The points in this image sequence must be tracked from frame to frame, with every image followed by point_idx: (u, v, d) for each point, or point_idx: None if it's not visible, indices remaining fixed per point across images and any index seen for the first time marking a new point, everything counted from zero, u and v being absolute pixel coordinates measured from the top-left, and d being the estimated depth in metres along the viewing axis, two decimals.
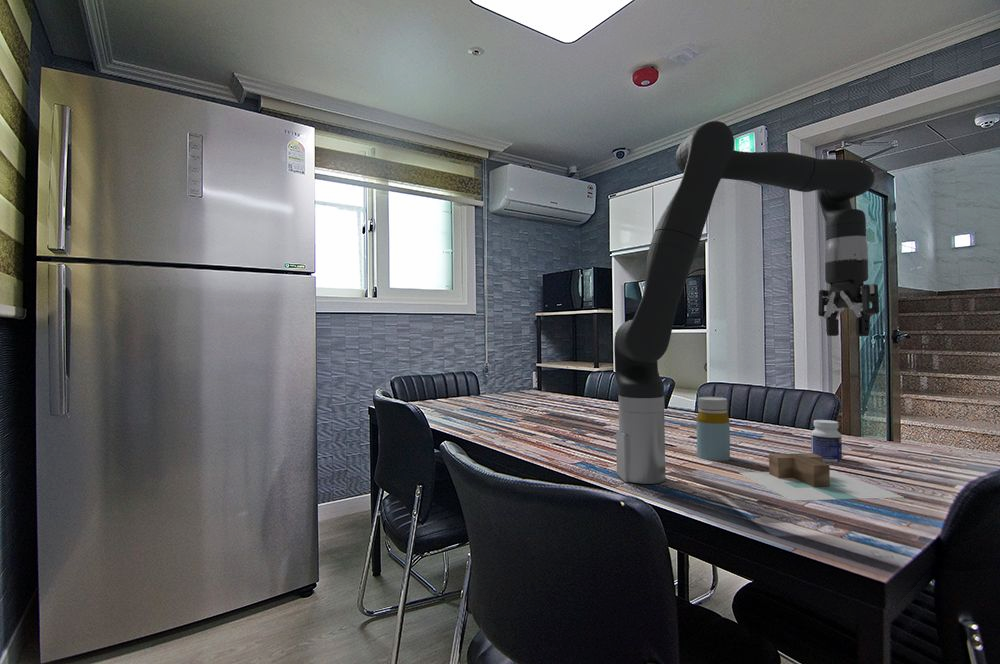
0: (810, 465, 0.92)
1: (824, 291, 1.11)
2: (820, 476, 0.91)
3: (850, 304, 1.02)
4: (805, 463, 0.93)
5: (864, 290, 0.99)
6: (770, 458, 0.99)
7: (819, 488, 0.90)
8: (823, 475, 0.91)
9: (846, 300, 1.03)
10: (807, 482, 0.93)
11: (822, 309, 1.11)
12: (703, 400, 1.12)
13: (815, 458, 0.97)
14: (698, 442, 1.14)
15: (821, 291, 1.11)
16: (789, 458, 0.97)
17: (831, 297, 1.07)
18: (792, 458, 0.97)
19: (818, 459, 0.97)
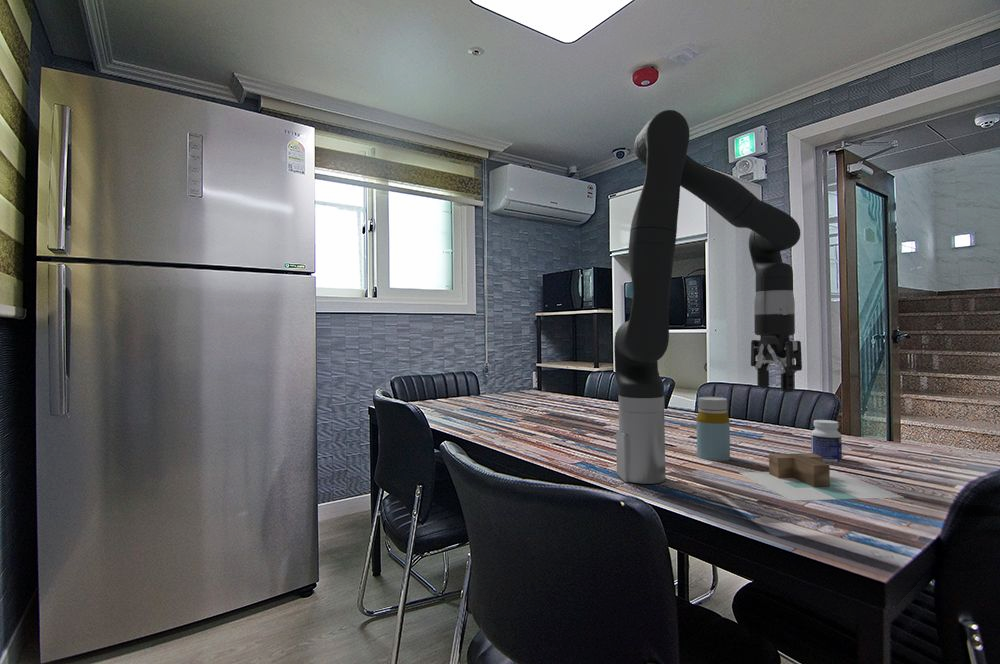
0: (810, 465, 0.92)
1: (756, 341, 1.11)
2: (820, 476, 0.91)
3: (775, 359, 1.02)
4: (805, 463, 0.93)
5: (788, 347, 0.98)
6: (770, 458, 0.99)
7: (819, 488, 0.90)
8: (823, 475, 0.91)
9: (772, 354, 1.03)
10: (807, 482, 0.93)
11: (754, 359, 1.11)
12: (703, 400, 1.12)
13: (815, 458, 0.97)
14: (698, 442, 1.14)
15: (753, 341, 1.11)
16: (789, 458, 0.97)
17: (760, 349, 1.07)
18: (792, 458, 0.97)
19: (818, 459, 0.97)
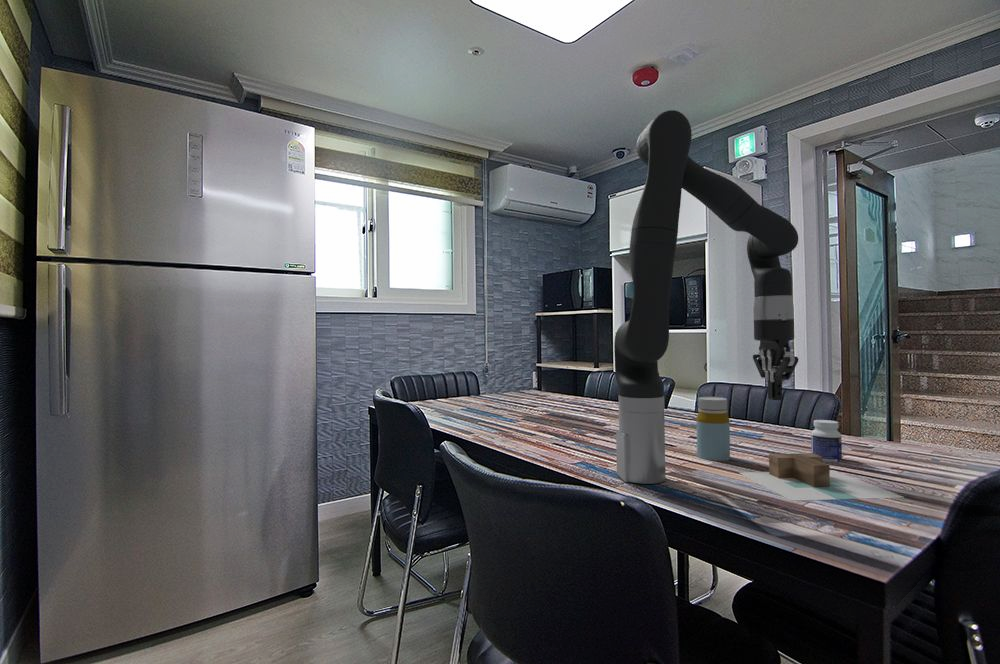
0: (810, 465, 0.92)
1: (756, 354, 1.10)
2: (820, 476, 0.91)
3: (769, 367, 1.04)
4: (805, 463, 0.93)
5: (784, 363, 1.00)
6: (770, 458, 0.99)
7: (819, 488, 0.90)
8: (823, 475, 0.91)
9: (769, 360, 1.04)
10: (807, 482, 0.93)
11: (762, 370, 1.08)
12: (703, 400, 1.12)
13: (815, 458, 0.97)
14: (698, 442, 1.14)
15: (754, 355, 1.10)
16: (789, 458, 0.97)
17: (761, 356, 1.06)
18: (792, 458, 0.97)
19: (818, 459, 0.97)
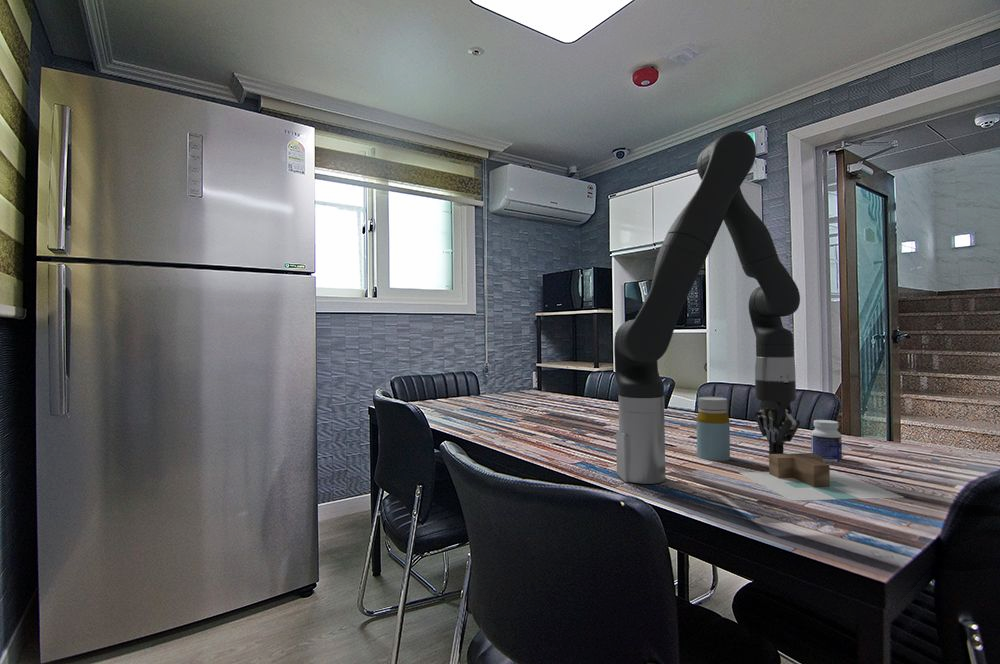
0: (810, 465, 0.92)
1: (758, 412, 1.10)
2: (820, 476, 0.91)
3: (771, 428, 1.03)
4: (805, 463, 0.93)
5: (785, 426, 0.99)
6: (770, 458, 0.99)
7: (819, 488, 0.90)
8: (823, 475, 0.91)
9: (770, 421, 1.04)
10: (807, 482, 0.93)
11: (763, 428, 1.07)
12: (703, 400, 1.12)
13: (815, 458, 0.97)
14: (698, 442, 1.14)
15: (755, 412, 1.10)
16: (789, 458, 0.97)
17: (763, 415, 1.06)
18: (792, 458, 0.97)
19: (818, 459, 0.97)
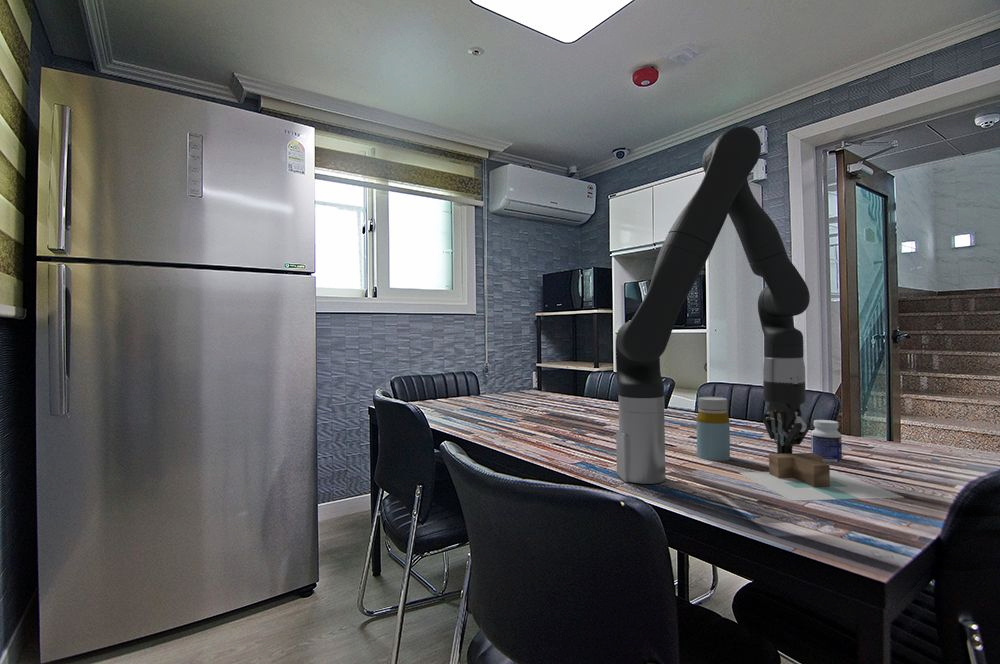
0: (810, 465, 0.92)
1: (765, 414, 1.07)
2: (820, 477, 0.91)
3: (780, 430, 1.01)
4: (805, 463, 0.93)
5: (795, 429, 0.96)
6: (770, 458, 0.99)
7: (819, 488, 0.90)
8: (823, 475, 0.91)
9: (779, 423, 1.01)
10: (807, 482, 0.92)
11: (771, 431, 1.04)
12: (703, 400, 1.12)
13: (815, 458, 0.97)
14: (698, 442, 1.14)
15: (762, 414, 1.07)
16: (789, 458, 0.97)
17: (771, 417, 1.03)
18: (792, 458, 0.97)
19: (818, 459, 0.97)
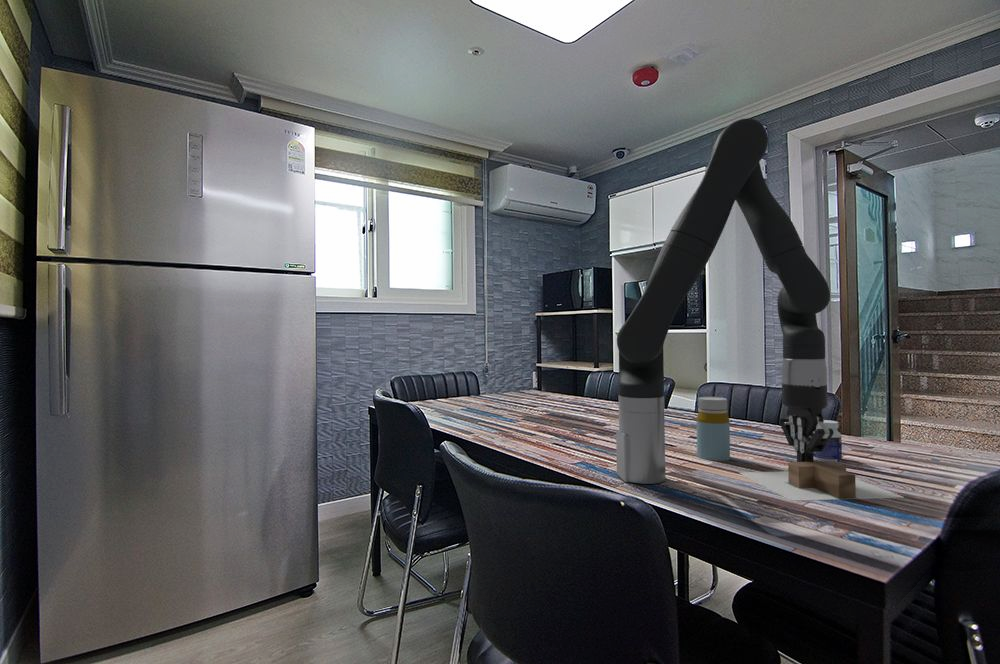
0: (834, 475, 0.85)
1: (783, 418, 1.01)
2: (845, 487, 0.84)
3: (800, 437, 0.94)
4: (828, 472, 0.87)
5: (817, 435, 0.90)
6: (789, 466, 0.93)
7: None
8: (848, 485, 0.84)
9: (799, 429, 0.94)
10: (831, 493, 0.86)
11: (790, 437, 0.98)
12: (703, 400, 1.12)
13: (838, 467, 0.91)
14: (698, 442, 1.14)
15: (780, 419, 1.01)
16: (810, 467, 0.90)
17: (790, 422, 0.97)
18: (814, 467, 0.90)
19: (841, 468, 0.91)
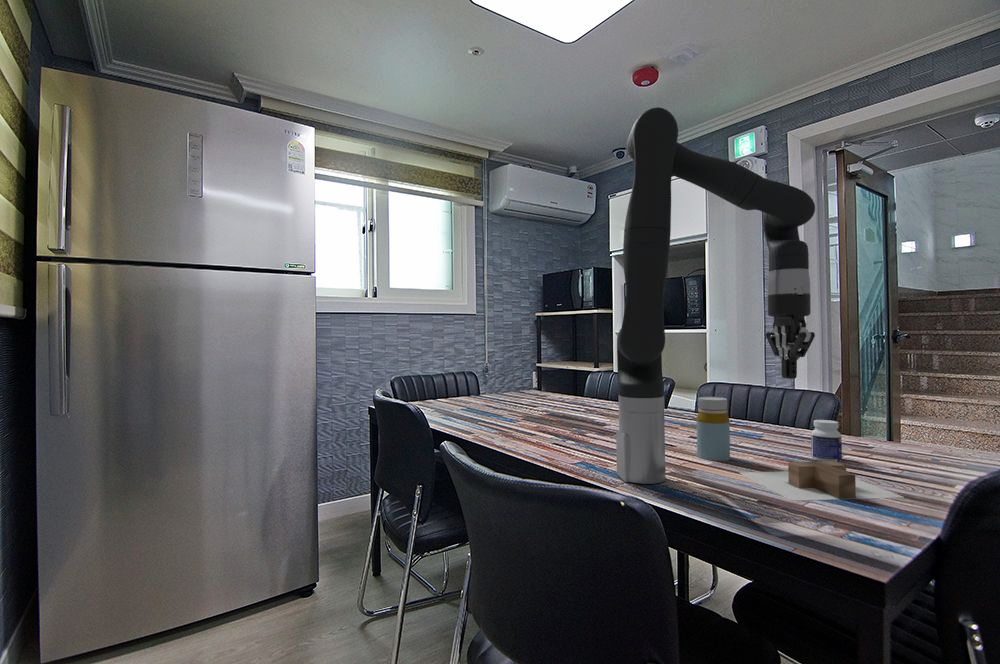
0: (834, 475, 0.85)
1: (770, 332, 1.06)
2: (845, 487, 0.84)
3: (784, 344, 0.99)
4: (828, 472, 0.87)
5: (799, 338, 0.95)
6: (789, 466, 0.93)
7: None
8: (848, 485, 0.84)
9: (783, 337, 0.99)
10: (831, 493, 0.86)
11: (775, 347, 1.03)
12: (703, 400, 1.12)
13: (838, 467, 0.91)
14: (698, 442, 1.14)
15: (767, 333, 1.06)
16: (810, 467, 0.90)
17: (775, 333, 1.02)
18: (814, 467, 0.90)
19: (841, 468, 0.91)
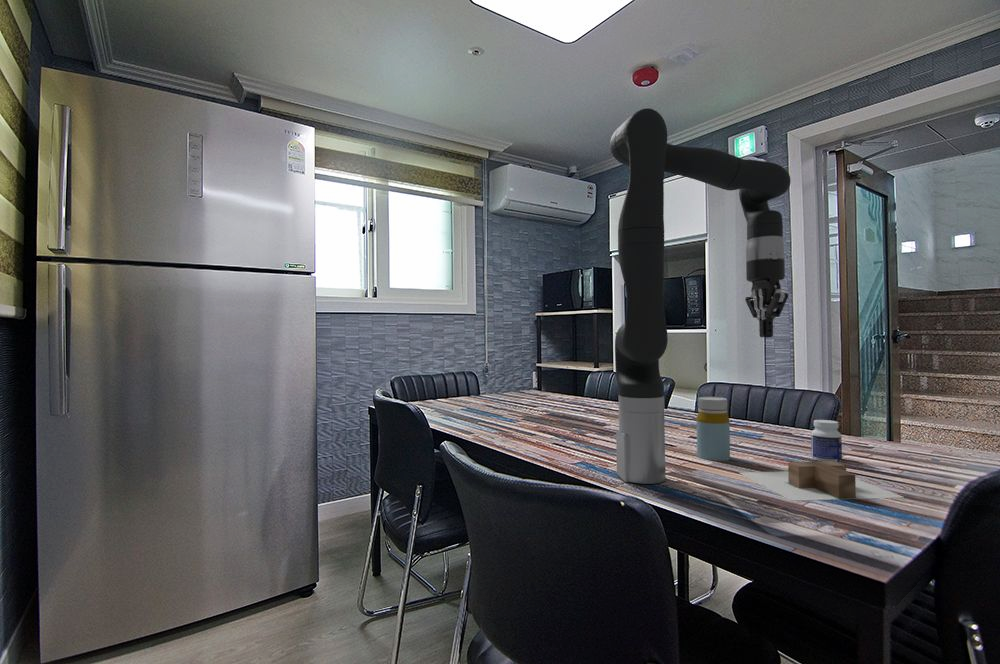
0: (834, 475, 0.85)
1: (749, 297, 1.15)
2: (845, 487, 0.84)
3: (761, 305, 1.08)
4: (828, 472, 0.87)
5: (774, 299, 1.04)
6: (789, 466, 0.93)
7: None
8: (848, 485, 0.84)
9: (760, 299, 1.08)
10: (831, 493, 0.86)
11: (754, 310, 1.12)
12: (703, 400, 1.12)
13: (838, 467, 0.91)
14: (698, 442, 1.14)
15: (746, 298, 1.15)
16: (810, 467, 0.90)
17: (753, 296, 1.11)
18: (814, 467, 0.90)
19: (841, 468, 0.91)
